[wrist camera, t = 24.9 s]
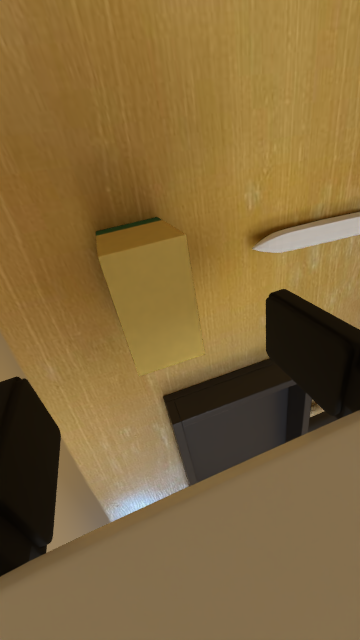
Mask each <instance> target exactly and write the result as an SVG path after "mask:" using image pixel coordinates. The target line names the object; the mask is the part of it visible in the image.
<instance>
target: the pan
mask: <svg viewBox="0 0 360 640" xmlns="http://www.w3.org/2000/svg"><path fill="white" fill-rule="evenodd" d="M163 399H164V402H165V405H166V409H167V412H168V415H169V419H170V422H171V425H172V429H173V432H174V436H175V439H176V442H177V446H178V449H179V452H180V456H181V459H182V462H183V466H184V469H185V472H186V476H187V479H188V482H189V486H191V485H194V484H196V483H198V482H200V481H202V480H205V479H207V478H209V477H211V476H213V475H216V474H218V473H220V472H222V471H224V470H227V469H229V468H231V467H233V466H236V465H238V464H240V463H242V462H244V461H247V460H249V459H251V458H253V457H255V456H258V455H260V454H262V453H264V452H266V451H269V450H271V449H273V448H275V447H278V446H280V445H282V444H284V443H286V442H289V441H291V440H293V439H295V438H298V437H300V436H302V435H304V434H307V433H308V426H309V418H310V410H311V402H312V398H311V397H310V396H309V395H308V394H307V393H306V392H305V391H304V390H303V389H302V388H300V387H299V386H298V385H297V384H296V383H295V382H294V381H293V380H292V379H291V378H290V377H289V376H288V375H287V374H286V373H285V372H284V371H283V370H282V369H281V368H280V367H279V366H278V365H277V364H275V363H274V362H273V361H272V360H271V359H268V360H265V361H262V362H260V363H257V364H254V365H251V366H248V367H246V368H243V369H240V370H237V371H234V372H231V373H229V374H226V375H223V376H220V377H217V378H215V379H212V380H209V381H206V382H203V383H201V384H198V385H195V386H192V387H189V388H187V389H184V390H181V391H178V392H175V393H172V394H170V395H167V396H164V397H163Z"/></svg>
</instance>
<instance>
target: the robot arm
mask: <svg viewBox="0 0 360 640" xmlns="http://www.w3.org/2000/svg"><path fill="white" fill-rule="evenodd" d="M266 352H267V354H268V356H269V358H270V359H271V360H272V361H273V362H274V363H275V364H277V365H278V366H279V367H280V368H281V369H282V370H283V371H284V372H285V373H286V374H287V375H288V376H289V377H290V378H291V379H292V380H293V381H294V382H295V383H296V384H297V385H298V386H299V387H300V388H302V389H303V390H304V391H305V392H306V393H307V394H308V395H309V396H310V397H311V398H312V399H313V400H314V401H315V402H316V403H317V404H318V405H319V406H320V407H321V408H322V409H323V410H324V411H325V412H327V413H328V414H329V415H331V416H335V417H336V418H337V419H338V420H336V421H333V422H331V423H329V424H327V425H325V426H322V427H320V428H318V429H316V430H313V431H311V432H309V433H307V434H304V435H302V436H300V437H298V438H295V439H293V440H291V441H289V442H286V443H284V444H282V445H280V446H278V447H275V448H273V449H271V450H269V451H266V452H264V453H262V454H260V455H258V456H255V457H253V458H251V459H249V460H247V461H244V462H242V463H240V464H238V465H236V466H233V467H231V468H229V469H227V470H224V471H222V472H220V473H218V474H216V475H213V476H211V477H209V478H207V479H205V480H202V481H200V482H198V483H196V484H194V485H191V486H189V487H187V488H185V489H183V490H180V491H178V492H176V493H174V494H172V495H170V496H167V497H165V498H163V499H161V500H159V501H157V502H154V503H152V504H150V505H148V506H146V507H144V508H141V509H139V510H137V511H135V512H133V513H130V514H128V515H126V516H124V517H122V518H120V519H117V520H115V521H113V522H111V523H109V524H107V525H104V526H102V527H100V528H98V529H96V530H94V531H91V532H89V533H87V534H85V535H83V536H81V537H79V538H77V539H75V540H73V541H71V542H68V543H66V544H64V545H62V546H60V547H58V548H56V549H54V550H52V551H50V552H48V553H46V549H47V544H49V543H50V542H51V541H52V537H53V527H54V515H55V502H56V490H57V478H58V465H59V451H60V440H61V434H60V430H59V428H58V426H57V424H56V423H55V421H54V420H53V418H52V417H51V415H50V414H49V412H48V411H47V409H46V408H45V406H44V405H43V403H42V401H41V400H40V398H39V397H38V395H37V394H36V392H35V391H34V389H33V388H32V386H31V385H30V383H29V382H28V380H27V379H21V378H19V377H14V378H11V379H8V380H5V381H2V382H0V640H360V330H359V329H357V328H355V327H353V326H352V325H350V324H348V323H346V322H344V321H343V320H341V319H339V318H337V317H335V316H333V315H332V314H330V313H328V312H326V311H324V310H322V309H321V308H319V307H317V306H315V305H313V304H312V303H310V302H308V301H306V300H304V299H302V298H301V297H299V296H297V295H295V294H293V293H291V292H290V291H288V290H286V289H282V290H279V291H276V292H273V293H271V294H270V295H269V298H267V299H266Z"/></svg>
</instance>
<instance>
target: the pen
mask: <svg viewBox="0 0 360 640" xmlns="http://www.w3.org/2000/svg"><path fill="white" fill-rule="evenodd" d="M359 234H360V212H357V213H352V214H347V215H342V216H337V217H333V218H328V219H323V220H319V221H315V222H311V223H307V224H303V225H299V226H295V227H291V228H287V229H284V230H280V231H277V232H274V233H272V234H270V235H268V236H267V237H265V238H264V239H262V240H261V241H259V242H258V243H257V244H256V245H255V246H254V247H253V248H252V249H254V250H257V251H262V252H274V253H277V252H286V251H291V250H295V249H300V248H304V247H308V246H313V245H317V244H321V243H326V242H330V241H335V240H339V239H343V238H347V237H351V236H355V235H359Z"/></svg>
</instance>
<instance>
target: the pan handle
mask: <svg viewBox="0 0 360 640" xmlns="http://www.w3.org/2000/svg"><path fill="white" fill-rule="evenodd" d="M336 420H338V419H337V418H336V417H335V416H331V415H329V414H328V413H327V412H325V411H324V412H322V413H320V414H317V415H315V416H312V417H310V418H309V426H308V433H309V432H311V431H313V430H316V429H318V428H320V427H322V426H325V425H327V424H329V423H331V422H333V421H336Z"/></svg>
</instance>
